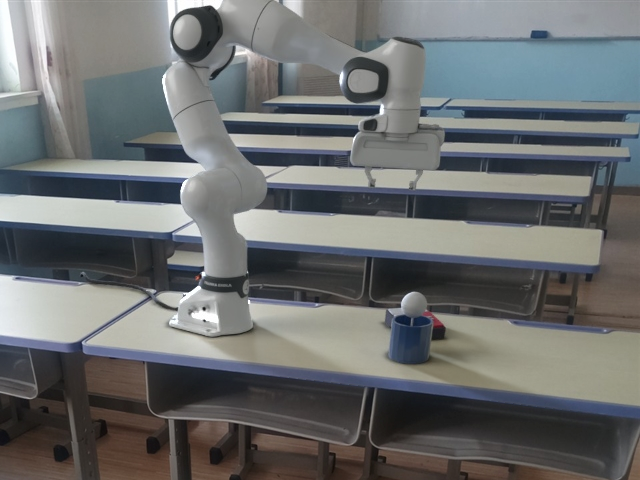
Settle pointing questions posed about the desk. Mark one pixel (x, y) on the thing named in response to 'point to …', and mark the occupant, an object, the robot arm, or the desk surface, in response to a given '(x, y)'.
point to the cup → (410, 339)
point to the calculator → (437, 325)
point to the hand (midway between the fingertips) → (391, 188)
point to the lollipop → (414, 305)
